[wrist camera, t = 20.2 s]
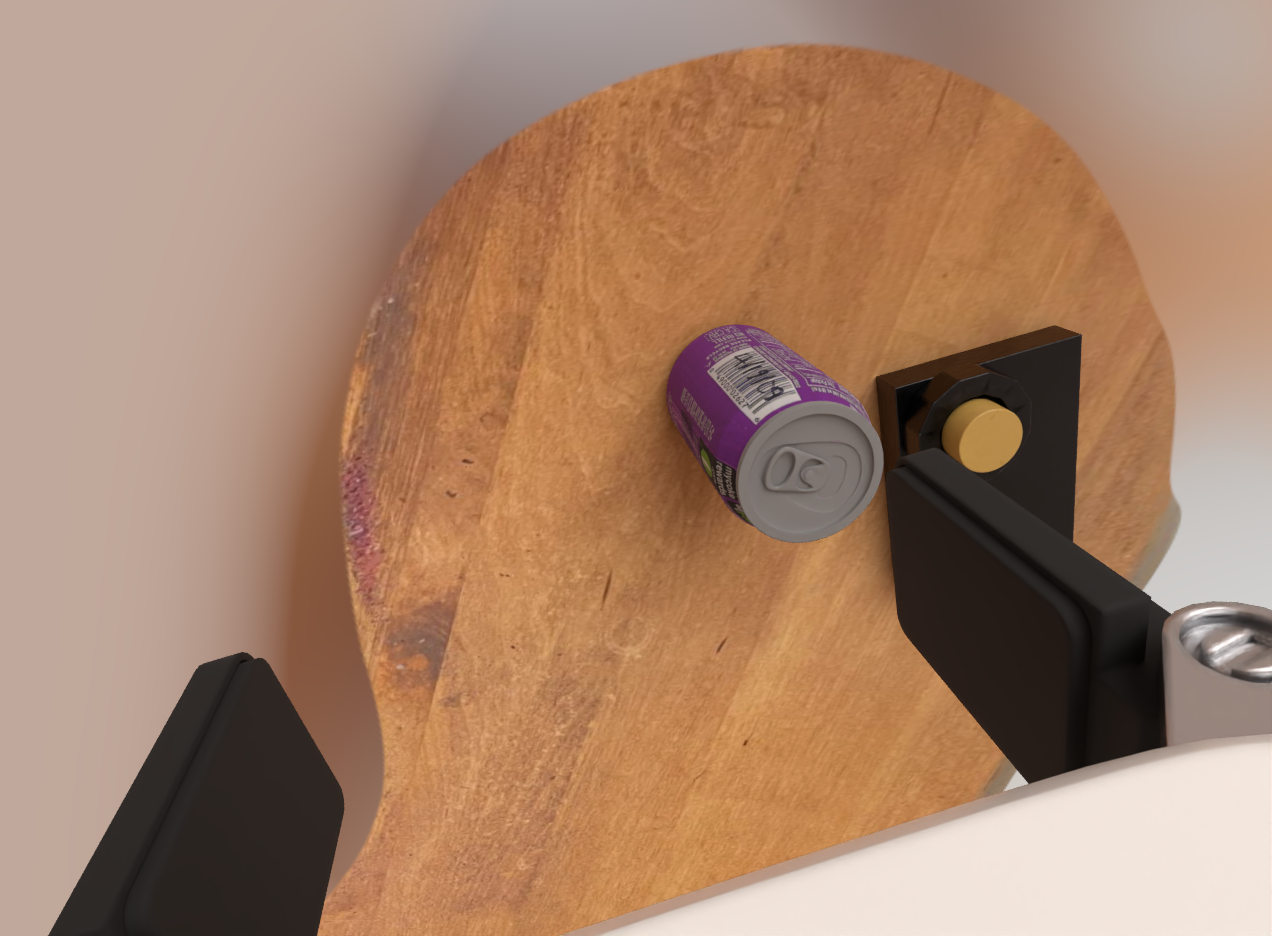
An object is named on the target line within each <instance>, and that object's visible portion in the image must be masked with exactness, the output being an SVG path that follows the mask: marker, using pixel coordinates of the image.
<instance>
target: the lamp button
mask: <svg viewBox="0 0 1272 936" xmlns="http://www.w3.org/2000/svg"><path fill="white" fill-rule="evenodd" d="M1022 434H1023V430H1022V424H1021V422H1020V420H1019V418H1018V417H1017V416H1016V415H1015V414H1014V413H1013V412H1011V411H1009V410H1008V409H1006V408H1004V407H1002V406H1000V405H998V404H996V403H994V402H992V401H990V400H988V399H973V400H970V401H967V402H965V403H963V404H961V405H960V406H958V407H957V408H956V409H955V410H954V411H953V412H952V413H951V414H950V415H949V417H948V418H947V420H946V422H945V424H944V426H943V430H942V435H941V439H942V445H943V448H944V450H945V451H946V453H947V454H948V455H949V456H951V457H952V458H953V459H955V460H956V461H958V462H959V463H961V464H962V465H963V466H965V467H966V468H968V469H969V470H971V471H974V472H982V473H984V472H990V471H993V470H996V469H998V468H1000V467H1002V466H1003V465H1004V464H1006V463H1007V462H1008V461H1009V460H1010V459H1011V458H1012V457H1013V456H1014V455H1015V453H1016V452H1017V450H1018V448H1019V446H1020V443H1021V440H1022Z"/></svg>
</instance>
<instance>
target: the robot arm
mask: <svg viewBox="0 0 1272 936" xmlns="http://www.w3.org/2000/svg"><path fill="white" fill-rule="evenodd" d="M886 491H887V503H888V514H889V526H890V537H891V548H892V560H893V571H894V583H895V594H896V605H897V614H898V619H899V622H900V625H901V627H902V629H903V631H904V633H905V635H906V636H907V637H908V639H909V640H910V641H911V642H912V644H913V645H914V646H915V647H916V648H917V650H918V651H919V652H920V653H921V654H922V656H923V657H924V658H925V659H926V660H927V662H928V663H929V664H930V665H931V666H932V668H933V669H934V670H935V671H936V673H937V674H938V675H939V676H940V677H941V679H942V680H943V681H944V682H945V683H946V685H947V686H948V687H949V688H950V689H951V691H952V692H953V693H954V694H955V695H956V697H957V698H958V699H959V700H960V701H961V703H962V704H963V705H964V706H965V708H966V709H967V710H968V711H969V712H970V714H971V715H972V716H973V717H974V718H975V720H976V721H977V722H978V723H979V724H980V726H981V727H982V728H983V729H984V730H985V732H986V733H987V734H988V735H989V736H990V738H991V739H992V740H993V741H994V743H995V744H996V745H997V746H998V747H999V749H1000V750H1001V751H1002V752H1003V753H1004V755H1005V756H1006V757H1007V758H1008V759H1009V761H1010V762H1011V763H1012V764H1013V765H1014V767H1015V768H1016V769H1017V770H1018V771H1019V773H1020V774H1021V775H1022V776H1023V777H1024V779H1025V780H1026V781H1027V782H1028V784H1027V785H1024V786H1021V787H1017V788H1014V789H1011V790H1008V791H1004V792H1001V793H998V794H994V795H991V796H988V797H984V798H981V799H978V800H975V801H971V802H968V803H965V804H961V805H958V806H955V807H952V808H949V809H946V810H943V811H940V812H937V813H934V814H930V815H927V816H924V817H921V818H918V819H915V820H912V821H909V822H906V823H902V824H899V825H896V826H893V827H890V828H887V829H884V830H881V831H878V832H875V833H871V834H868V835H865V836H862V837H859V838H856V839H853V840H850V841H847V842H844V843H840V844H837V845H834V846H831V847H828V848H825V849H822V850H819V851H816V852H812V853H809V854H806V855H803V856H800V857H797V858H794V859H791V860H788V861H785V862H781V863H778V864H775V865H772V866H769V867H766V868H763V869H760V870H757V871H754V872H751V873H748V874H745V875H742V876H738V877H735V878H732V879H729V880H726V881H723V882H720V883H717V884H714V885H711V886H708V887H705V888H702V889H699V890H696V891H693V892H690V893H687V894H684V895H680V896H677V897H674V898H671V899H668V900H665V901H662V902H659V903H656V904H653V905H650V906H647V907H644V908H641V909H638V910H635V911H632V912H629V913H626V914H623V915H620V916H617V917H614V918H610V919H607V920H604V921H601V922H598V923H595V924H592V925H589V926H586V927H583V928H580V929H577V930H574V931H571V932H568V933H565V934H562V935H559V936H1272V610H1270V609H1267V608H1264V607H1259V606H1254V605H1248V604H1243V603H1237V602H1206V603H1199V604H1192V605H1189V606H1187V607H1184V608H1182V609H1180V610H1177V611H1175V612H1174V613H1173V614H1170V613H1169V612H1167V611H1166V610H1165V609H1163V608H1162V607H1160V606H1159V605H1157V604H1156V603H1155V602H1153V601H1152V600H1151V597H1150V596H1149V595H1147V594H1146V593H1145V592H1143V591H1142V590H1140V589H1139V588H1137V587H1136V586H1135V585H1133V584H1132V583H1130V582H1129V581H1127V580H1126V579H1125V578H1123V577H1122V576H1120V575H1119V574H1117V573H1116V572H1115V571H1113V570H1112V569H1110V568H1109V567H1107V566H1106V565H1105V564H1103V563H1102V562H1100V561H1099V560H1097V559H1096V558H1095V557H1093V556H1092V555H1090V554H1089V553H1087V552H1086V551H1085V550H1083V549H1082V548H1080V547H1079V546H1077V545H1076V544H1075V543H1073V542H1072V541H1070V540H1069V539H1067V538H1066V537H1065V536H1063V535H1062V534H1060V533H1059V532H1057V531H1056V530H1055V529H1053V528H1052V527H1050V526H1049V525H1047V524H1046V523H1044V522H1043V521H1042V520H1040V519H1039V518H1037V517H1036V516H1034V515H1033V514H1032V513H1030V512H1029V511H1027V510H1026V509H1024V508H1023V507H1022V506H1020V505H1019V504H1017V503H1016V502H1014V501H1013V500H1012V499H1010V498H1009V497H1007V496H1006V495H1004V494H1003V493H1002V492H1000V491H999V490H997V489H996V488H994V487H993V486H992V485H990V484H989V483H987V482H986V481H984V480H983V479H982V478H980V477H979V476H977V475H976V474H974V473H973V472H972V471H970V470H969V469H967V468H966V467H964V466H963V465H962V464H960V463H959V462H957V461H956V460H954V459H953V458H952V457H950V456H949V455H947V454H946V453H944V452H943V451H942V450H940V449H938V448H931V449H928V450H924V451H921V452H918V453H914V454H911V455H907V456H904V457H901V458H898V459H897V460H896V462H895V466H894V470H891V471H888V472H887V474H886ZM343 814H344V798H343V793H342V789H341V787H340V785H339V783H338V781H337V780H336V778H335V776H334V775H333V773H332V771H331V770H330V768H329V766H328V764H327V763H326V761H325V759H324V758H323V756H322V754H321V752H320V751H319V749H318V747H317V746H316V744H315V742H314V740H313V739H312V737H311V735H310V734H309V732H308V731H307V728H306V727H305V725H304V724H303V722H302V720H301V718H300V717H299V715H298V713H297V711H296V710H295V708H294V706H293V705H292V703H291V701H290V700H289V698H288V696H287V694H286V693H285V691H284V689H283V688H282V686H281V684H280V682H279V681H278V679H277V677H276V676H275V674H274V672H273V670H272V669H271V667H270V665H269V664H268V663H267V662H266V660H264V659H263V658H257V659H254V658H253V657H252V656H251V655H249V654H248V653H244V652H241V653H238V654H234V655H231V656H227V657H224V658H221V659H217V660H214V661H211V662H207V663H204V664H202V665H200V666H199V667H198V668H197V669H196V671H195V672H194V674H193V676H192V678H191V680H190V681H189V683H188V685H187V687H186V689H185V690H184V692H183V694H182V696H181V698H180V699H179V701H178V703H177V705H176V707H175V708H174V710H173V712H172V714H171V716H170V717H169V719H168V721H167V723H166V725H165V726H164V728H163V730H162V732H161V734H160V735H159V737H158V739H157V741H156V743H155V744H154V746H153V748H152V750H151V752H150V754H149V755H148V757H147V759H146V761H145V762H144V764H143V766H142V768H141V770H140V771H139V773H138V775H137V777H136V779H135V780H134V782H133V784H132V786H131V788H130V789H129V791H128V793H127V795H126V797H125V798H124V800H123V802H122V804H121V806H120V807H119V809H118V811H117V813H116V815H115V816H114V818H113V820H112V822H111V824H110V825H109V827H108V829H107V831H106V833H105V835H104V836H103V838H102V840H101V842H100V843H99V845H98V847H97V849H96V851H95V853H94V854H93V856H92V858H91V860H90V862H89V863H88V865H87V867H86V869H85V870H84V873H83V874H82V876H81V878H80V879H79V881H78V883H77V885H76V887H75V888H74V890H73V892H72V894H71V896H70V898H69V899H68V901H67V903H66V905H65V907H64V908H63V910H62V912H61V914H60V915H59V917H58V919H57V921H56V923H55V925H54V926H53V928H52V930H51V932H50V934H49V935H48V936H317V933H318V928H319V924H320V919H321V915H322V910H323V905H324V901H325V896H326V892H327V887H328V883H329V878H330V873H331V869H332V864H333V860H334V855H335V851H336V846H337V842H338V837H339V833H340V828H341V823H342V819H343Z"/></svg>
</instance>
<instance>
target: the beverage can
mask: <svg viewBox="0 0 1272 936" xmlns="http://www.w3.org/2000/svg"><path fill="white" fill-rule="evenodd" d="M666 396H667V406H668V410H669V414H670V416H671V419H672V421H673V423H674V424H675V426H676V428H677V429H678V431H679V432H680V434H681V435H682V437H683V439H684V440H685V442H686V443H687V445H688V446H689V448H690V450H691V451H692V453H693V454H694V456H695V457H696V459H697V461H698V462H699V464H700V465H701V467H702V468H703V470H704V472H705V473H706V475H707V476H708V478H709V479H710V481H711V483H712V484H713V486H714V487H715V489H716V490H717V492H718V494H719V495H720V497H721V498H722V500H723V501H724V503H725V504H726V506H727V507H728V508H729V509H730V510H731V511H732V512H733V513H734V514H735V515H736V516H737V517H738V518H740V519H741V520H742V521H744V522H746V523H747V524H749V525H751V526H754V527H756V528H757V529H758V530H759V531H761V532H762V533H764V534H765V535H767V536H769V537H771V538H774V539H777V540H780V541H784V542H792V543H803V542H811V541H816V540H820V539H823V538H826V537H828V536H831V535H833V534H835V533H837V532H839V531H840V530H842V529H844V528H845V527H846V526H848V525H849V524H850V523H852V522H853V521H854V520H855V519H856V518H857V517H858V516H859V515H860V514H861V513H862V512H863V511H864V510H865V509H866V507H867V506H868V505H869V503H870V502H871V500H872V499H873V497H874V495H875V493H876V491H877V489H878V486H879V484H880V480H881V477H882V472H883V460H884V458H883V449H882V445H881V441H880V439H879V436H878V434H877V432H876V431H875V429H874V428H873V426H872V425H871V422H870V419H869V417H868V415H867V412H866V411H865V409H864V407H863V406H862V404H861V403H860V402H859V401H858V399H857V398H856V397H855V396H854V395H853V394H851V393H850V392H849V391H848V390H846V389H845V388H844V387H842V386H841V385H840V384H838V383H837V382H836V381H834V380H833V379H831V378H830V377H829V376H827V375H826V374H824V373H823V372H822V371H820V370H819V369H818V368H816V367H815V366H813V365H812V364H811V363H809V362H808V361H806V360H805V359H804V358H802V357H801V356H799V355H798V354H797V353H795V352H794V351H792V350H791V349H790V348H788V347H787V346H785V345H784V344H783V343H781V342H780V341H779V340H777V339H776V338H774V337H773V336H772V335H770V334H769V333H767V332H765V331H763V330H761V329H759V328H756V327H752V326H747V325H727V326H722V327H718V328H715V329H712V330H710V331H708V332H706V333H704V334H702V335H701V336H699V337H698V338H696V339H695V340H694V341H692V342H691V343H690V344H689V345H688V346H687V347H686V348H685V349H684V350H683V351H682V353H681V354H680V355H679V357H678V358H677V360H676V362H675V364H674V365H673V368H672V370H671V373H670V375H669V379H668V384H667V395H666Z"/></svg>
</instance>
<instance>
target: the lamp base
mask: <svg viewBox="0 0 1272 936" xmlns="http://www.w3.org/2000/svg"><path fill="white" fill-rule="evenodd" d="M1081 343H1082V335H1081V334H1079V333H1076V332H1073V331H1070V330H1067V329H1064V328H1061V327H1058V326H1051V327H1048V328H1044V329H1041V330H1037V331H1034V332H1030V333H1027V334H1023V335H1020V336H1016V337H1013V338H1009V339H1006V340H1003V341H999V342H996V343H992V344H989V345H985V346H982V347H978V348H975V349H971V350H968V351H964V352H961V353H957V354H954V355H950V356H947V357H943V358H940V359H936V360H933V361H930V362H926V363H923V364H919V365H916V366H912V367H909V368H905V369H902V370H898V371H895V372H891V373H888V374H884V375H881V376H877V377H876V380H877V391H878V403H879V414H880V425H881V437H882V448H883V458H884V471H885V482H886V474H887V472H888V471H891V470H894V466H895V462H896V460H897V459H898V458H901V457H904V456H907V455H911V454H914V453H918V452H921V451H924V450H928V449H931V448H938V449H940V450H942V451H943V452H944V453H946V451H945V450H944V448H943V445H942V439H941V435H942V430H943V426H944V424H945V422H946V420H947V418H948V417H949V415H950V414H951V413H952V412H953V411H954V410H955V409H956V408H957V407H958V406H960V405H961V404H963V403H965V402H967V401H970V400H973V399H988V400H990V401H992V402H994V403H996V404H998V405H1000V406H1002V407H1004V408H1006V409H1008V410H1009V411H1011V412H1013V413H1014V414H1015V415H1016V416H1017V417H1018V418H1019V420H1020V422H1021V424H1022V430H1023V434H1022V440H1021V443H1020V446H1019V448H1018V450H1017V452H1016V453H1015V455H1014V456H1013V457H1012V458H1011V459H1010V460H1009V461H1008V462H1007V463H1006V464H1004V465H1003V466H1002V467H1000V468H998V469H996V470H993V471H990V472H984V473H982V472H974V471H972V472H973V473H974V474H976V475H977V476H979V477H980V478H982V479H983V480H984V481H986V482H987V483H989V484H990V485H992V486H993V487H994V488H996V489H997V490H999V491H1000V492H1002V493H1003V494H1004V495H1006V496H1007V497H1009V498H1010V499H1012V500H1013V501H1014V502H1016V503H1017V504H1019V505H1020V506H1022V507H1023V508H1024V509H1026V510H1027V511H1029V512H1030V513H1032V514H1033V515H1034V516H1036V517H1037V518H1039V519H1040V520H1042V521H1043V522H1044V523H1046V524H1047V525H1049V526H1050V527H1052V528H1053V529H1055V530H1056V531H1057V532H1059V533H1060V534H1062V535H1063V536H1065V537H1066V538H1067V539H1069V540H1070V541H1072V542H1073V530H1074V506H1075V483H1076V460H1077V436H1078V413H1079V390H1080V366H1081ZM946 454H947V453H946ZM947 455H948V454H947ZM950 457H951V456H950ZM954 460H955V459H954ZM957 462H958V461H957ZM960 464H961V463H960ZM964 467H965V466H964ZM967 469H968V468H967ZM970 471H971V470H970ZM886 494H887V491H886ZM887 505H888V503H887ZM888 516H889V514H888ZM889 528H890V526H889ZM890 539H891V537H890ZM891 550H892V548H891ZM892 562H893V560H892ZM893 573H894V571H893Z"/></svg>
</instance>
